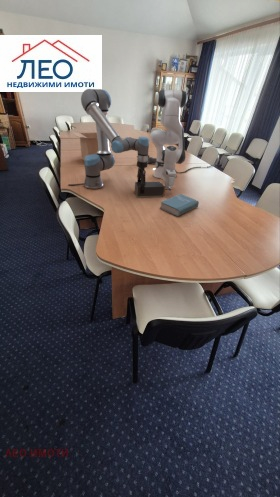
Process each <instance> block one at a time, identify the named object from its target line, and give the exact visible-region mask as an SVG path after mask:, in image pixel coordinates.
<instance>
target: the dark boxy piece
mask: <svg viewBox="0 0 280 497" xmlns="http://www.w3.org/2000/svg"><path fill="white" fill-rule="evenodd" d="M161 183H162V182H161V181H145V184H146V185H145V187H144V194H140V190H141V182H138V181H135V182H134V193H135V196H136V197H137V198H162V197H163V196H164V195H163V190H164V186H165V185H164V184H163V183H162V184H163V185H164V186H163V185H162V184H161Z"/></svg>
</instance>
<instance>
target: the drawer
mask: <svg viewBox="0 0 280 497" xmlns="http://www.w3.org/2000/svg"><path fill="white" fill-rule="evenodd" d="M161 184H162V185H163V186H164V190H163V196H165V195H166V191H172V188H171V186H168V189H166V188H165V184H163V183H162V182H161Z"/></svg>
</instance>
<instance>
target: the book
mask: <svg viewBox="0 0 280 497" xmlns="http://www.w3.org/2000/svg"><path fill="white" fill-rule="evenodd" d="M160 203H161V204H160V208H159V209H161V210H163V211H165V212H167V213H169V214H171V215H173V216H176V217H180V216H181V215H184V214H186V213H188V212H190V211H192V210H194V209H196V208H198V207H199V204H200V203H199V200H196V199H194V198H192V197H189V196H187V195H184V194H182V193H180V194H177V195H175V196H172V197H169V198H166V199H164V200H161V201H160Z"/></svg>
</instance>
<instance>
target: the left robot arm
mask: <svg viewBox="0 0 280 497" xmlns="http://www.w3.org/2000/svg"><path fill="white" fill-rule="evenodd" d="M80 102H81V106H82V108H83V110H84V111H85V113H86V114H87V115H88V116H90V117H91V118H92V119H93V121H94V122H95V129H96V130H95V132H97V141H98V151H97V154H90V155H87V156H86V157H85V159H84V160H83V163H84V171H85V172H84V173H85V178H84V181H83V183H75V184H74V183H73V184H72V183H71V184H67V185H68V186H69V187H70V186H71V187H72V186H83V187H84V188H86V189H88V190H98V189H102V188H103V187H104V181H103V178H102V176H101V172H104V171H106V170H110V169H112V168H113V167H114V166H115V163H116V160H115V156H114V154H122V153H124V152H128V151H136V152H137V156H136V160H137V161H136V167H137V175H136V178H137V182H141V190H140V194H144V187H145V185H146V184H145V182H146V175H147V174H146V173H147V171H146V168H148V162H147V161H148V155H149V149H150V137H147V136H139V137H138V138H134V137H131V136H129V137H128V136H125V137H124V139H123V138H122V137H121V136H120V135H119V133H118V132H117V130H116V129H115V127H114V126H113V125H112V123H111V122H110V121H109V119H108V114H109V109H110V108H111V105H112V98H111V95H110V94H109V92H108V91H107V90H106V89H105V90H104V89H101V88H100V89H99V88H87V89H85V90H83V91H82V92H81V97H80ZM110 144H111V145H110ZM110 148H111V150H110ZM112 152H113V153H114V154H113V153H112Z"/></svg>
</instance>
